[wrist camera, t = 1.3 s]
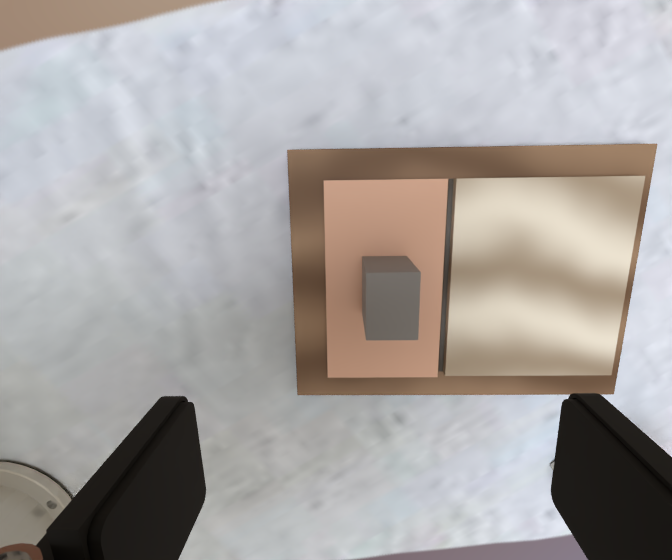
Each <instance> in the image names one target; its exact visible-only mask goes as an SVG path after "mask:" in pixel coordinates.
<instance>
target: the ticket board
mask: <svg viewBox="0 0 672 560" xmlns="http://www.w3.org/2000/svg"><path fill="white" fill-rule="evenodd" d="M656 149H657V144H615V145H554V146H493V147H431V148H370V149H309V150H287V153H288V177H289V201H290V225H291V249H292V272H293V296H294V320H295V344H296V368H297V392H298V395H540V394H573V393H598V394H614V390H615V384H616V378H617V373H618V367H619V361H620V355H621V350H622V344H623V338H624V332H625V327H626V321H627V315H628V309H629V304H630V298H631V292H632V286H633V281H634V275H635V269H636V263H637V258H638V252H639V246H640V241H641V235H642V229H643V223H644V218H645V212H646V206H647V200H648V195H649V189H650V183H651V177H652V172H653V166H654V160H655V154H656ZM392 179H448V190H447V209H446V228H445V246H444V265H443V284H442V303H441V322H440V340H439V359H438V377H375V378H328V366H327V319H326V271H325V224H324V180H392Z"/></svg>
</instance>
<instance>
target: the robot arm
mask: <svg viewBox="0 0 672 560" xmlns="http://www.w3.org/2000/svg"><path fill="white" fill-rule="evenodd" d="M205 495H206V485H205V478H204V471H203V464H202V457H201V450H200V443H199V436H198V429H197V421H196V414H195V408H194V404H193V403H192V402H188V400H187V398H186V397H184V396H164V397H161V398H160V399H159V400H158V401H157V402H156V403H155V404H154V406H153V407H152V408H151V409H150V410H149V411H148V413H147V414H146V415H145V416H144V417H143V418H142V419H141V421H140V422H139V423H138V424H137V425H136V426H135V428H134V429H133V430H132V431H131V432H130V433H129V435H128V436H127V437H126V438H125V439H124V440H123V441H122V443H121V444H120V445H119V446H118V447H117V448H116V450H115V451H114V452H113V453H112V454H111V455H110V456H109V458H108V459H107V460H106V461H105V462H104V463H103V465H102V466H101V467H100V468H99V469H98V470H97V472H96V473H95V474H94V475H93V476H92V477H91V478H90V480H89V481H88V482H87V483H86V484H85V485H84V487H83V488H82V489H81V490H80V491H79V492H78V493H77V495H76V496H75V497H74V498H73V499H71V498H70V496H69V495H68V494H67V493H66V492H65V491H64V490H63V489H62V488H61V487H60V486H59V485H58V484H57V483H56V482H54V481H53V480H52V479H50V478H49V477H48V476H46V475H44V474H42V473H40V472H38V471H36V470H34V469H31V468H29V467H26V466H23V465H19V464H15V463H10V462H0V560H178V559H179V557H180V555H181V552H182V550H183V548H184V546H185V543H186V541H187V539H188V537H189V535H190V532H191V530H192V528H193V526H194V524H195V521H196V519H197V517H198V515H199V513H200V510H201V508H202V506H203V503H204V500H205ZM551 495H552V500H553V502H554V505H555V507H556V508H557V510H558V512H559V513H560V515H561V516H562V518H563V520H564V521H565V523H566V525H567V526H568V528H569V529H570V531H571V533H572V534H573V536H574V538H575V539H576V541H577V542H578V544H579V546H580V547H581V549H582V550H583V552H584V553H585V555H586V557H587V558H588V560H672V457H671V456H670V455H669V454H667V453H666V452H665V451H664V450H663V449H662V448H661V447H660V446H658V445H657V444H656V443H655V442H654V441H653V440H652V439H650V438H649V437H648V436H647V435H646V434H645V433H644V432H642V431H641V430H640V429H639V428H638V427H637V426H636V425H634V424H633V423H632V422H631V421H630V420H629V419H628V418H627V417H625V416H624V415H623V414H622V413H621V412H620V411H619V410H617V409H616V408H615V407H614V406H613V405H612V404H611V403H609V402H608V401H607V400H606V399H605V398H604V397H603V396H601V395H600V394H598V393H573V394H571V395H570V396H569V398H568V399H565V400H564V401H563V402H562V407H561V415H560V422H559V430H558V438H557V446H556V453H555V461H554V469H553V477H552V484H551Z"/></svg>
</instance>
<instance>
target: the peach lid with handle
mask: <svg viewBox="0 0 672 560" xmlns="http://www.w3.org/2000/svg"><path fill="white" fill-rule="evenodd" d="M447 190H448V179H392V180H324V224H325V271H326V319H327V366H328V378H375V377H438V359H439V340H440V322H441V303H442V284H443V265H444V246H445V228H446V209H447Z"/></svg>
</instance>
